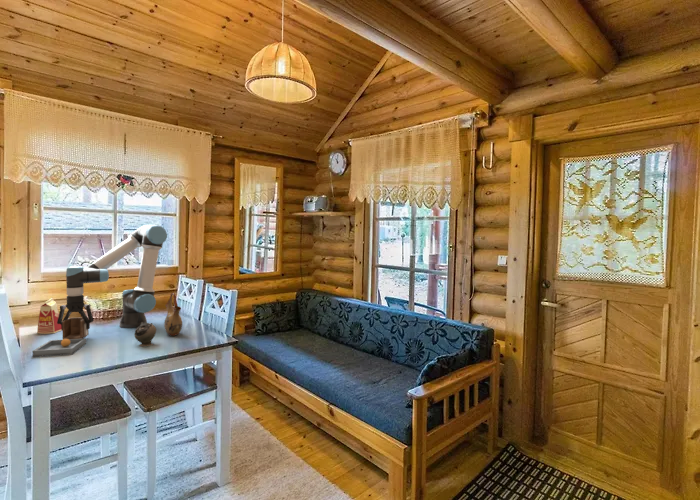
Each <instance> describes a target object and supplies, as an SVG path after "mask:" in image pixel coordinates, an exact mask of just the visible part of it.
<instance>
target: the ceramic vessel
mask: <svg viewBox="0 0 700 500" xmlns="http://www.w3.org/2000/svg"><path fill="white" fill-rule="evenodd" d="M172 300H173V301H174V303H173V302H172ZM172 303H173V304H174V305H173V304H172ZM165 307H166V310H167V314H166V316H165V318H164V323H163V325H164V330H165V332H166V334H168V336H170V335H171V336H172V337H174V336H175V335H176V336H177V335H179V334H180V332H181V331H182V328H183V320H182V317H181V316H180V311H181V310H182V308H181V306H178V300H177V295H176V294H175V292H171V293H170V295H169V299H168V301H167V302H166V304H165ZM171 336H170V337H171ZM176 336H175V337H176Z"/></svg>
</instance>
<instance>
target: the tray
mask: <svg viewBox="0 0 700 500" xmlns="http://www.w3.org/2000/svg"><path fill="white" fill-rule="evenodd" d="M62 340H63V339H51V340H48V341H47V342H45V343H44V344H42V345H40V346H38V347H36V348H34V349H33V350H32V353H31V354H32V358H40V357H39V356H41V357H54V356H69V355H71V356H72V355H74V354H75V353H76V352H77V351H79V350H80V349H81V348H83V347H85V345H87V338H86V337H85V338H83V339H69V340H70V342H71V343H70V345H69V346H67V347H63V346H62V345H61V341H62Z"/></svg>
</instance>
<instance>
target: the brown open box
mask: <svg viewBox="0 0 700 500" xmlns="http://www.w3.org/2000/svg"><path fill="white" fill-rule="evenodd" d="M62 321H63V320H62ZM84 324H85V321H84V319H83V318H82V316H80V317H69V318H68V319H67V320H65V321H63V322H62V333H61V334H62V340H63V339H83V338H86V337H88V336H89V335H90V334H89V332H90V331H89V330H88V335H86V336H84Z"/></svg>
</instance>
